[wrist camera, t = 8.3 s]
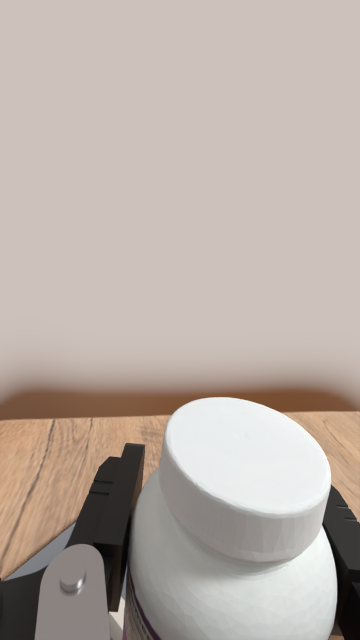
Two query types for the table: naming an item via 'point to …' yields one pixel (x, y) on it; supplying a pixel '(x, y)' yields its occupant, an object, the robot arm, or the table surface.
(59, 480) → the table surface
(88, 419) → the table surface
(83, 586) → the robot arm
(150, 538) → the pill bottle
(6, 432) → the table surface
